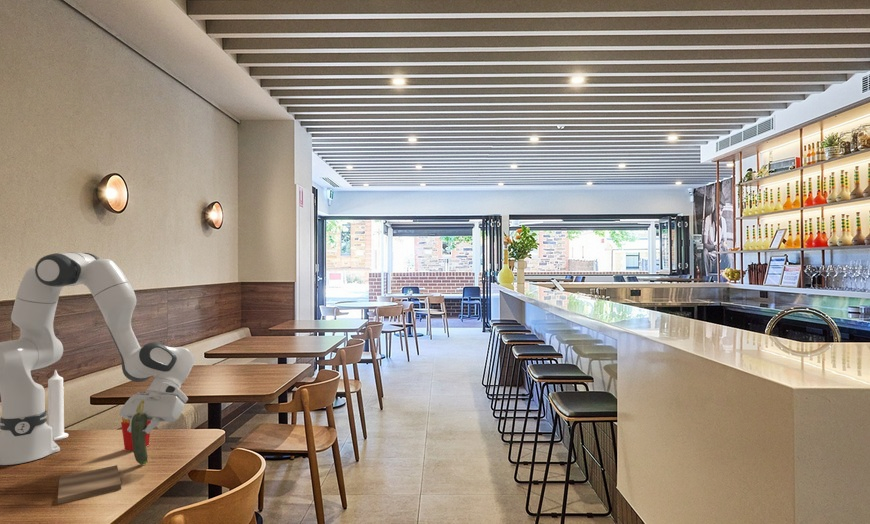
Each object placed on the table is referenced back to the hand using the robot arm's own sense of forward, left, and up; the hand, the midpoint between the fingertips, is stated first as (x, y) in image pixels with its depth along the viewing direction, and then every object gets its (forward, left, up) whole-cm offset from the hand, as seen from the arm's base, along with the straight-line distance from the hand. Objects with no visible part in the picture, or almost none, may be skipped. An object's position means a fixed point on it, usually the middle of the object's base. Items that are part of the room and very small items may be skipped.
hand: (137, 432), depth 155 cm
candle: (-51, -22, -11) cm, 57 cm away
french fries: (-19, +1, -11) cm, 22 cm away
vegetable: (0, 0, -11) cm, 11 cm away
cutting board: (+8, -13, -10) cm, 18 cm away
